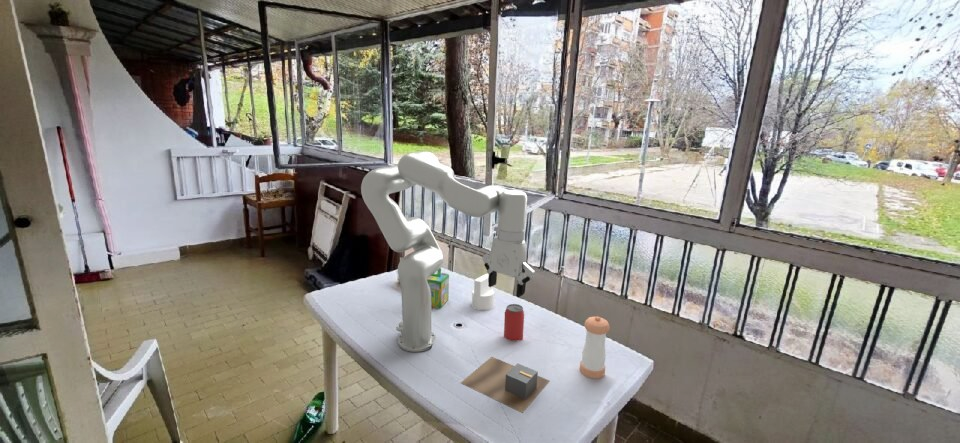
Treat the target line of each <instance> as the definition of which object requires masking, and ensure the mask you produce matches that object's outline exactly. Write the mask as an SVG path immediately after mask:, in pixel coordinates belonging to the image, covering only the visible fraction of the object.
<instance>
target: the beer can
mask: <svg viewBox="0 0 960 443" xmlns="http://www.w3.org/2000/svg"><path fill="white" fill-rule="evenodd" d="M524 312H525V311H524V308H523V306H522V305H521V304H517V303H510V304H508V305H507V306H506V308H505V312H504V322H503V323H504V325H503V326H504V327H503V338H505V339H506V340H508V341H513V342H515V341H520V342H521V341H523V339H524V326H525V323H524V322H525V313H524Z"/></svg>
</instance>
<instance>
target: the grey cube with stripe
mask: <svg viewBox="0 0 960 443" xmlns="http://www.w3.org/2000/svg"><path fill="white" fill-rule="evenodd" d="M513 366H514V367H513V368H512V369H511V370H510V371H509V372H508V373H507V374H506V381H505V390H506V391H508V392H510V393H512V394H514V395H516V396H519V397H521V398H523V399H525V400H526V399H527V398H528V396H529V395H530V394H531V393H532V392H533V391H534V390H535V389H536V387H537V376H539V375H538V371H537V370H535V369H532V368H530V367H528V366H525V365H522V364H520V363H517V364H515V365H513Z"/></svg>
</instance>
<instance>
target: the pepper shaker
mask: <svg viewBox="0 0 960 443" xmlns="http://www.w3.org/2000/svg"><path fill="white" fill-rule="evenodd" d="M584 328H585V329H586V330H585V331H586V333H585V334H586V335H585V342H584V346H583V349H582V355H581V360H580V363H579V371H580V373H581V374H583V376H585V377H587V378H590V379H600V378H603V377H604V376H605V374H606V365H605V364H606V363H605V362H606V338H607V337H606V336H607V333H608V332H609V331H610V328H611V326H610V324H609V322H608V320H606V319H605V318H603V317H600V316H589V317H588V318H587V319H586V320H585V322H584Z"/></svg>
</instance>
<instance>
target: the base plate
mask: <svg viewBox="0 0 960 443" xmlns="http://www.w3.org/2000/svg"><path fill="white" fill-rule="evenodd" d="M514 366H515V365H513V364H510V363H508V362H506V361H503V360H500V359H498V358H497V357H494V356H491V357H489V358H488V359H487V360H486V361H484V363H482V364H480V365H479V367H478V368H477V369H475V370H474V371H473V372H471V373H470V374H469V375H468V376H467V377H466V378H465V379H463V380H462V381H460V384H462V385H463V386H466V387H468V388H469V389H472V390H474V391H477V392H478V393H481V394H482V395H485V396H487V397H489V398H491V399H492V400H495V401H497V402H499V403H501V404H502V405H505V406H506V407H509V408H512V409H514V410H516V411H518V412H520V413H522V414H523V413H524V412H525V411H526V410H527V409H528V407H529V406H531V403H533V402H534V400H535V399H536V398H537V397H538V396H539V395H540V393H541V392H543V390H544V389H545V388H546V386H548V384H549V383H550V382H551V380H549V379H547V378H544V377H541V376H539V375H537V387H536V389H535V390H534V391H533V392H532V393H531V394H530V395H529V396H528V398H527V399H526V400H525V399H523V398H521V397H519V396H516V395H514V394H512V393H510V392H508V391H506V390H505V381H506V374H507V373H508V372H509V371H510V370H511V369H512V368H513V367H514Z"/></svg>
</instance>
